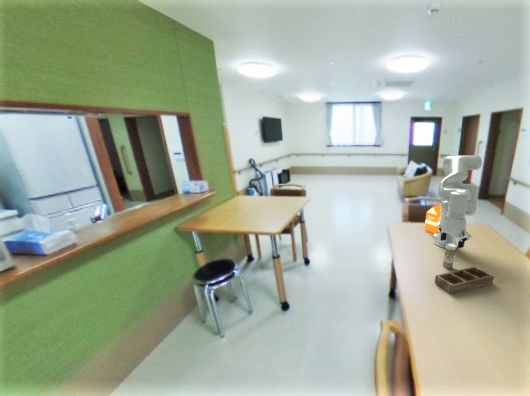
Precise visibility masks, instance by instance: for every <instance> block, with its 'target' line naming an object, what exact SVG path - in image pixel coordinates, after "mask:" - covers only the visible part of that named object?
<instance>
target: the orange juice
mask: <svg viewBox="0 0 530 396" xmlns="http://www.w3.org/2000/svg"><path fill="white" fill-rule="evenodd" d="M440 206H441V204H438V205H434V206H432V207H431V208H430V209H429V210H427V211H426V215H425V221H424V231H426V230H427V231H426V232H430V233H432V234H435V233H436V234H438V231H439V227H438V224H440V216H441V207H440Z"/></svg>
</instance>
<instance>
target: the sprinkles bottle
mask: <svg viewBox="0 0 530 396" xmlns="http://www.w3.org/2000/svg"><path fill="white" fill-rule="evenodd" d="M456 250H457V248H456V246H455V245H453V244H446V248H445V249H444V255H443V261H442V266H443V267H445V268H447V269H452V268H453V264H454V259H455V255H456Z"/></svg>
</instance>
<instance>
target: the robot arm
mask: <svg viewBox="0 0 530 396" xmlns="http://www.w3.org/2000/svg"><path fill="white" fill-rule="evenodd" d="M442 161H443V162H442V168H443V171H444V175H445V176H444V178H443V179H442V180H441V181H440V182H439V185H438V189H437V190H438V191H437V198H438V199H439V201H440V205H441V206H440V207H441V216H440V224H438V227H439V231H438V232H437V233H433V235H432V237H433V238H435V239H434V241H433V243H434V244H435V245H436V246H438V247H440V248H442V249H443V248H444V249H446V244H453V245H455V246H456V249H463V248H464V246H465V242H466V241H469V240H470V239H471V237H472V235H471V234H470V233H469V232H468V231H467V218H466V217H473V216H475V214H476V213H477V206H478V205H477V203H478V187H477V186H476V185H475V184H471V183H463V182H464V181H466V180H467V179H468V175H469V172H468V171H478V170H479V169H481V168H482V165H483V159H482V157H481V156H480V155H448V156H446V157H444V158H443V160H442ZM457 238H458V243H457V242H456V240H457Z"/></svg>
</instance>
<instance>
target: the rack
mask: <svg viewBox="0 0 530 396" xmlns="http://www.w3.org/2000/svg"><path fill="white" fill-rule="evenodd" d="M494 277H495V276H494V275H493V274H491V273H489V272H487V271H485V270H482V269H480V268H478V267H476V266H475V265H474V266H470V267H466V268H462V269H457V270H454V271H453V270H452V271H449V272H445V273H440V274H436V275H435V278H434V284H435V285H437V286H438V287H440V288H442V289H443V290H445V291H447V292H448V293H449V294H451V295H453V294H457V293H461V292H465V291H469V290H473V289H478V288H481V287H485V286H489V285H493V283H494Z"/></svg>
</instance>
